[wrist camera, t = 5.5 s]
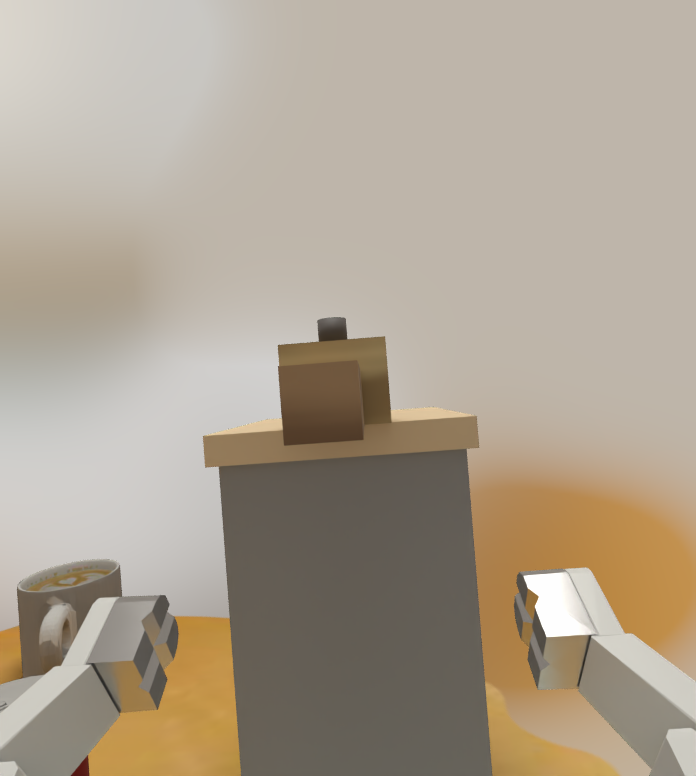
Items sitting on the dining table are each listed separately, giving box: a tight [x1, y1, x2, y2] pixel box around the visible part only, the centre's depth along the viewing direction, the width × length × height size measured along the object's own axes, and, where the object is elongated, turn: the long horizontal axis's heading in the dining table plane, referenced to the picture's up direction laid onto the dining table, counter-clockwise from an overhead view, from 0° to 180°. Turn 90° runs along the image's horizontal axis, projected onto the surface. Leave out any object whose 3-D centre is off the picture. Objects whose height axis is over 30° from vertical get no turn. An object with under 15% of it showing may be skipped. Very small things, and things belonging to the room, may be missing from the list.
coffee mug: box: [17, 559, 122, 678], centre depth 53 cm, size 13×10×10 cm
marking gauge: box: [278, 317, 392, 446], centre depth 25 cm, size 20×5×5 cm, turn 178°
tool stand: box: [203, 407, 492, 776], centre depth 31 cm, size 15×13×26 cm
